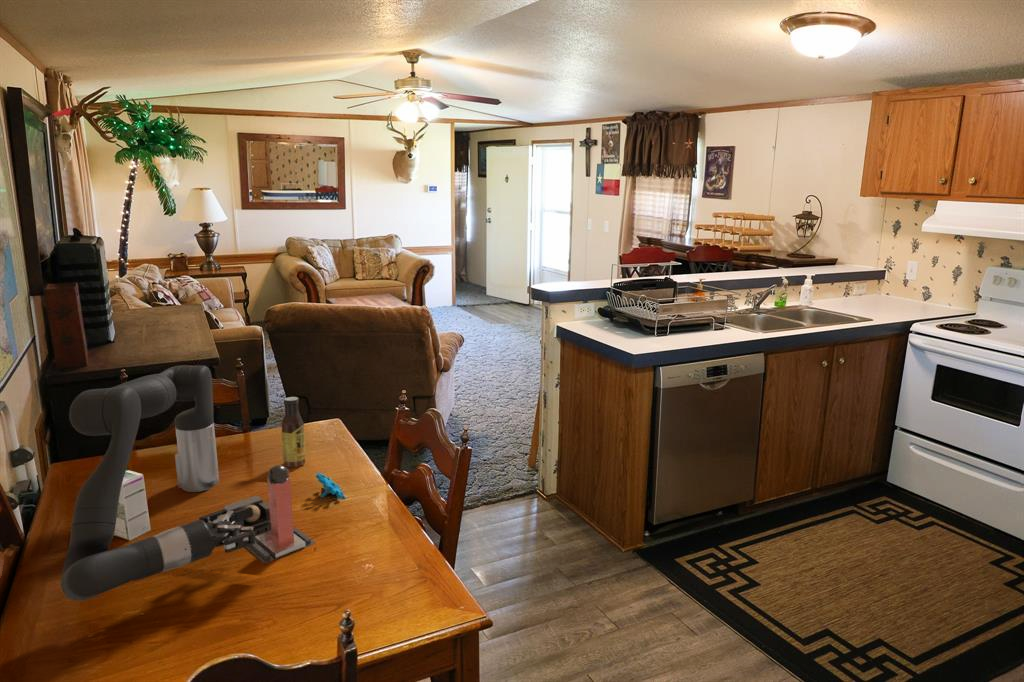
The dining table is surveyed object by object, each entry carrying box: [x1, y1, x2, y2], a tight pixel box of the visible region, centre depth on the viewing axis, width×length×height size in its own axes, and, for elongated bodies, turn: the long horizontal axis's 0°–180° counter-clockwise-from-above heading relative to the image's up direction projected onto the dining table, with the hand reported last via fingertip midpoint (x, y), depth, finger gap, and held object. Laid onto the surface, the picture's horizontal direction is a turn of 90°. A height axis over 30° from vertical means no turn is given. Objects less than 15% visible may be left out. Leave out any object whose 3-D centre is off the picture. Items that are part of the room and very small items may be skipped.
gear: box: [315, 472, 347, 500], centre depth 174 cm, size 11×6×10 cm
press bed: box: [217, 495, 317, 564], centre depth 156 cm, size 28×12×5 cm, turn 45°
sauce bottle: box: [281, 396, 306, 468], centre depth 193 cm, size 7×6×20 cm
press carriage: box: [255, 464, 306, 558], centre depth 148 cm, size 10×7×19 cm
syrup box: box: [113, 469, 151, 541], centre depth 155 cm, size 6×6×14 cm
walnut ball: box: [244, 505, 260, 522], centre depth 159 cm, size 4×4×4 cm
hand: (260, 518), depth 144 cm, fingers open, 8 cm apart
